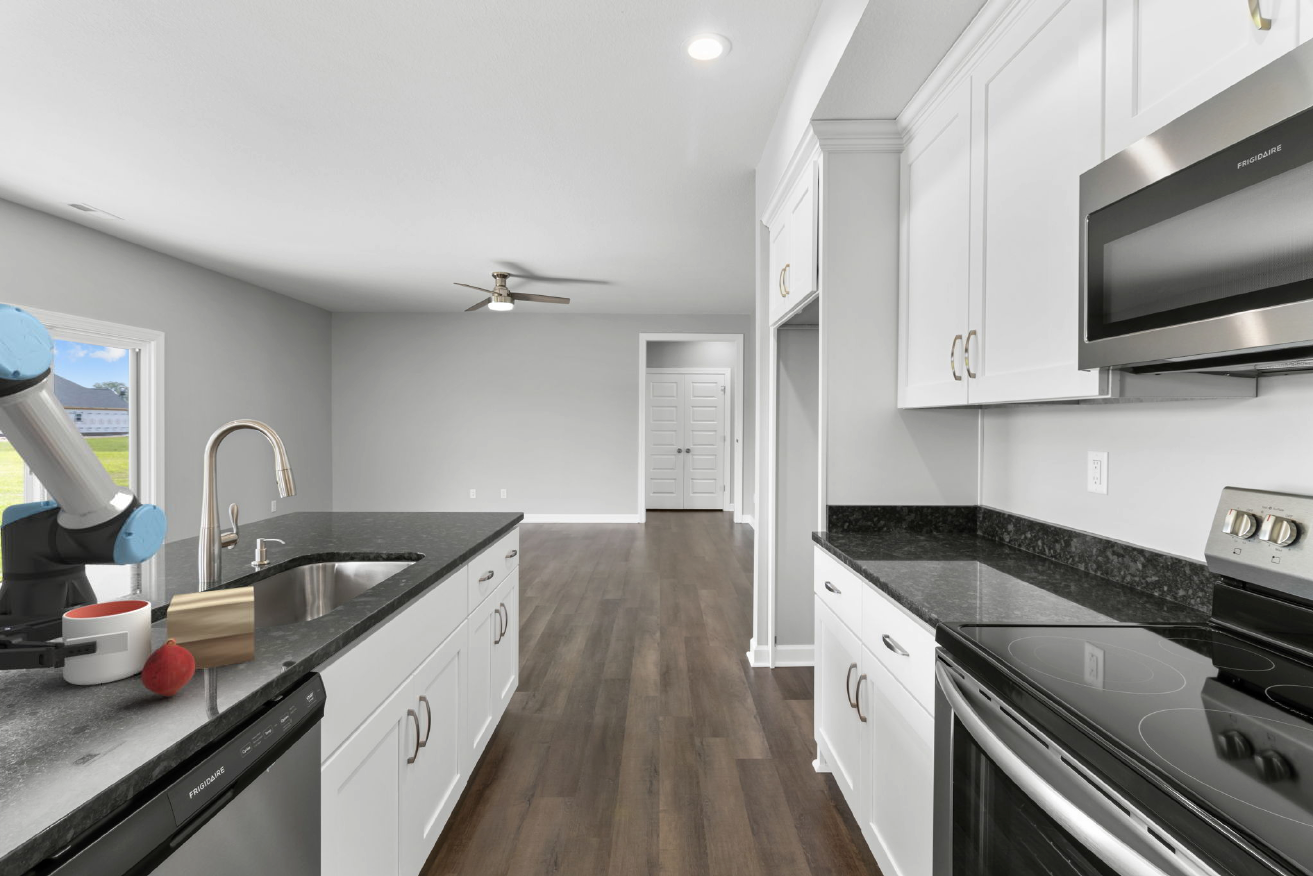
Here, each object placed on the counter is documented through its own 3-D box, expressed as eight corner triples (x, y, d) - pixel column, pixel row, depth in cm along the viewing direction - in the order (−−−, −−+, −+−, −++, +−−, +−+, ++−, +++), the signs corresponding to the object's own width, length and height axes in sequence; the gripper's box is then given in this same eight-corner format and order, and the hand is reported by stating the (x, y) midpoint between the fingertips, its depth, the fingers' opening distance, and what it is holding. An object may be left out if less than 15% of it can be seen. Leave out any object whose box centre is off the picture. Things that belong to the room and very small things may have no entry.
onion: (152, 709, 82) (151, 649, 82) (134, 699, 85) (134, 641, 85) (202, 693, 87) (202, 637, 87) (184, 684, 90) (184, 629, 90)
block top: (174, 625, 102) (173, 595, 102) (253, 614, 108) (253, 586, 108) (167, 644, 93) (167, 611, 93) (254, 631, 99) (254, 600, 99)
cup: (99, 691, 88) (98, 620, 88) (44, 685, 90) (43, 616, 90) (168, 665, 98) (167, 601, 97) (116, 660, 100) (116, 598, 99)
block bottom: (173, 655, 102) (173, 625, 102) (252, 642, 109) (252, 614, 109) (167, 677, 93) (167, 644, 93) (254, 662, 100) (254, 631, 100)
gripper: (-41, 656, 93) (141, 630, 105) (-114, 721, 73) (123, 679, 85) (-42, 607, 93) (141, 586, 105) (-115, 657, 73) (123, 625, 85)
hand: (133, 628), depth 95 cm, fingers open, 13 cm apart
